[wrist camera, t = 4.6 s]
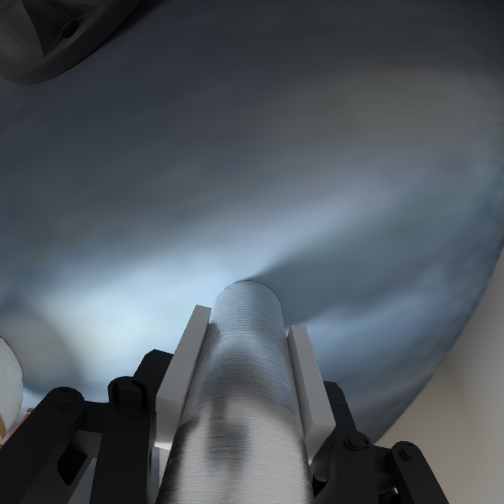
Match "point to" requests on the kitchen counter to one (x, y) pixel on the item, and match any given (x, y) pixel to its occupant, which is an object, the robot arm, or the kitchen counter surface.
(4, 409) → the lidded jar
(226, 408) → the pin
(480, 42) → the kitchen counter surface
